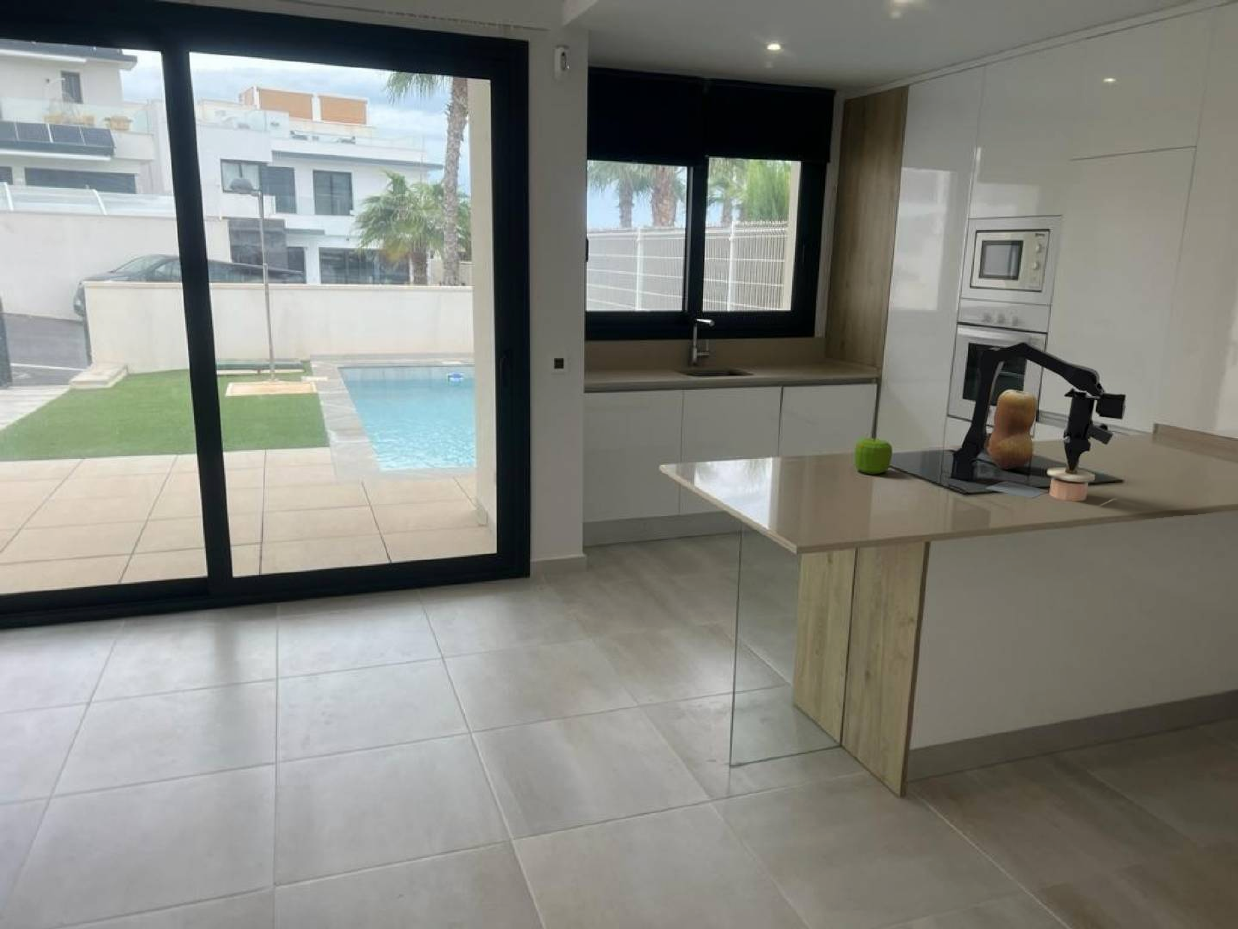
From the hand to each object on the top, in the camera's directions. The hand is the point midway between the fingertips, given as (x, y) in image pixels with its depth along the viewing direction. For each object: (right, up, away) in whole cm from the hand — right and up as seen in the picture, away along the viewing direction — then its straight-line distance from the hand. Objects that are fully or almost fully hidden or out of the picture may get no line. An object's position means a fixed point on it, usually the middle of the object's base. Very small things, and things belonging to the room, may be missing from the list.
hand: (1071, 469), depth 249 cm
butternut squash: (-4, 0, +33) cm, 33 cm away
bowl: (0, -8, +2) cm, 8 cm away
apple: (-50, -1, +23) cm, 55 cm away
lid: (0, -2, +1) cm, 2 cm away
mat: (-12, -6, +7) cm, 15 cm away
